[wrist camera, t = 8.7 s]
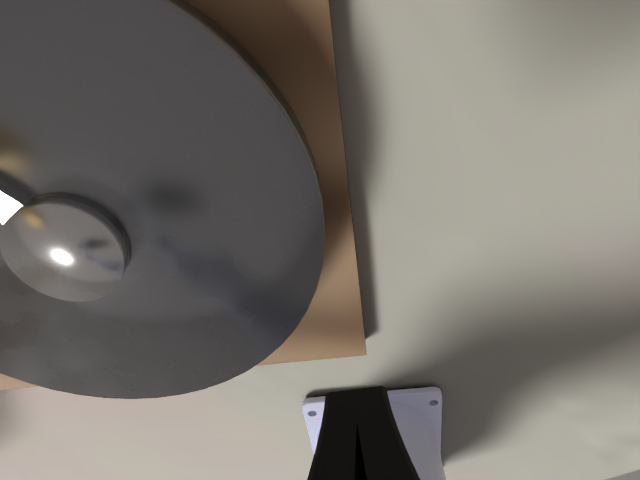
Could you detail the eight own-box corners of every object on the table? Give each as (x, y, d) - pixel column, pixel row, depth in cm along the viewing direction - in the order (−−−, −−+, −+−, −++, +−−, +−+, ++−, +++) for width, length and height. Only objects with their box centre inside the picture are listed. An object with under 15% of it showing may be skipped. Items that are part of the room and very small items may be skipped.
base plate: (364, 340, 24) (366, 356, 23) (5, 375, 25) (-7, 392, 25) (311, -154, 13) (311, -160, 12) (-325, -45, 14) (-370, -43, 13)
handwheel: (224, -152, 12) (150, -215, 7) (365, 328, 22) (382, 457, 16) (-312, 41, 14) (-675, 108, 9) (32, 393, 24) (-47, 523, 19)
